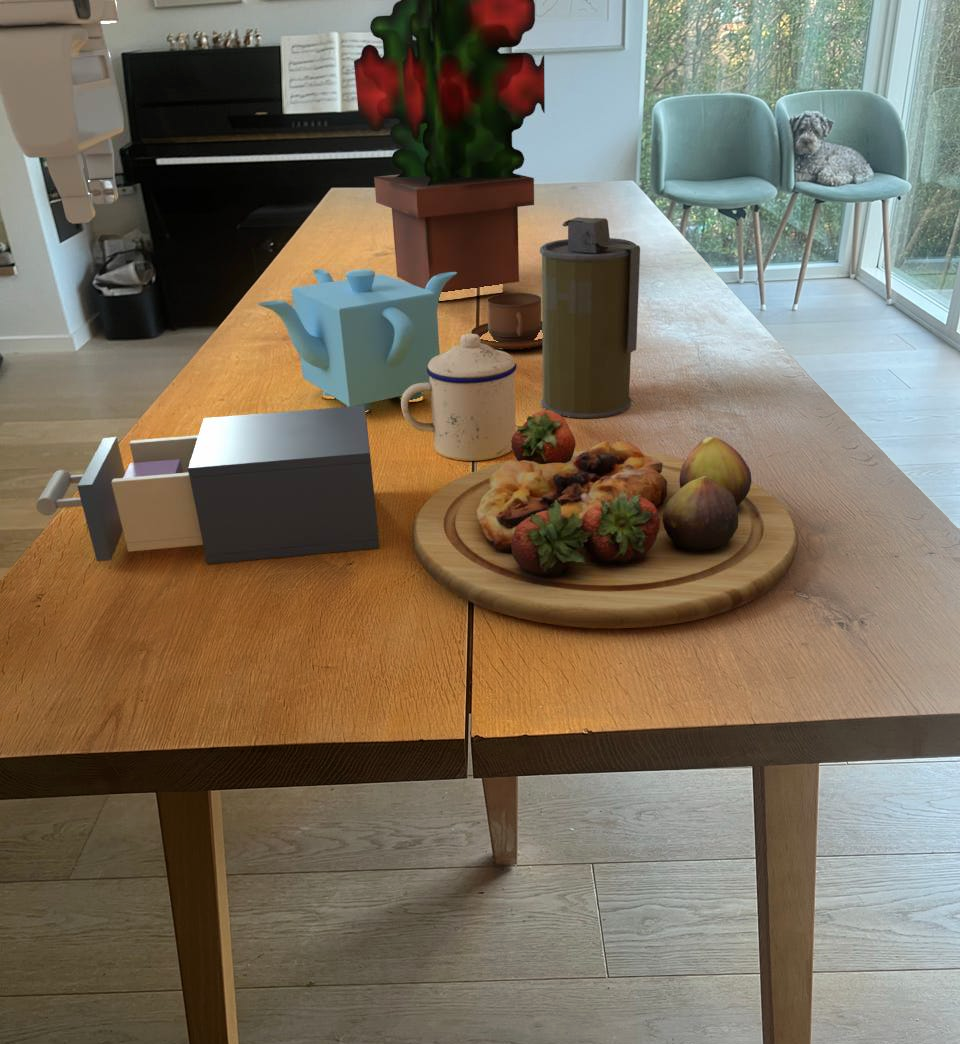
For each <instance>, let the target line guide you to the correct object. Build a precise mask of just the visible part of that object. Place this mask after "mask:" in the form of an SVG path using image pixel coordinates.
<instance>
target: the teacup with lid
mask: <svg viewBox="0 0 960 1044" xmlns="http://www.w3.org/2000/svg"><path fill="white" fill-rule="evenodd" d="M515 360H516V359H514V357H513V356H512V354H509V353H508V352H506V351H504V350H500V349H495V348H492V347H490V346H488V345H486V344H481V343H480V337H479V335H477V334H471V333H466V334H463V335H461V337H460V343H459V344H457V345H455V346H452V347H451V348H450V349H449V350H447V351H446V352H442V353H440V354H439V355H437V356H435V357H434V358H432V359H431V360H430V362H429V364H428V367H427V373H428V375H429V376H430V382H427V383H418V384H414V385H412V386H410V387H409V388H408V389H407V390H406V391H405V392H404V393H403V395H402V398H401V401H400V408H401V412H402V416H403V417H404V419H405V421H406V422H407V423H408V424H409V425H410V426H411V427H412V428H413V429H415V430H417V431H420V432H429V433H430V432H432V433H433V446H434V450H435V451H436V452H437V453H438V454H439V455H441V456H442V457H444V458H448V459H451V460H457V461H465V462H476V461H477V462H478V461H486V460H492V459H496V458H500V457H502V456H505V455H507V454H509V453H510V452H511V451H513V450H512V447H511V446H512V443H511V440H512V437H513V435H514V434H515V432H517V427H516V426H517V425H516V387H515V386H516V385H515V383H516V381H515V372H516V371H517V368H518V367H517V363H516V361H515ZM418 392H420V393H422V392H430V402H431V403H430V404H431V418H432V422H421V421H418V420H416V419H415V418H414V416H412V415H411V413H410V411H409V403H408V402H409V399H410V398H411V397H412V396H413V395H414V394H415V393H418Z"/></svg>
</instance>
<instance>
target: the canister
mask: <svg viewBox="0 0 960 1044" xmlns="http://www.w3.org/2000/svg"><path fill="white" fill-rule="evenodd" d="M562 227H565V228H566V227H567V239H558V240H554V241H550V242H546V243H545V244H542V246H540V248H539V253H540V255H541V273H542V274H541V280H542V281H541V287H542V288H541V289H542V290H541V293H542V294H541V321H542V333H543V345H542V398H541V400H540V405H541V407H542V406H543V407H544V408H545V409H546V410H552V411H553V412H555V413H556V414H559V415H562V417H564V416H569V417H577V418H576V419H588V418H589V419H599V418H600V419H601V418H606V417H610V416H615V415H618V414H622V413H623V412H625V411H627V410H628V409H629V408H631V406H632V402H633V401H632V397H631V396H630V385H631V383H630V382H631V360H632V353H633V352H635V351H636V350H637V342H638V318H639V317H638V316H639V289H640V288H639V287H640V267H641V266H640V265H641V263H640V262H641V247H640V245H638V244H636V243H635V242H633V241H630V240H627V239H622V238H614V237H613V238H612V237H610V227H609V220H608V219H607V218H605V217H594V218H592V217H578V216H577V217H574V218H571V219H568V220H566V221H564V222H563V223H562ZM543 407H542V408H543ZM544 408H543V409H544ZM545 409H544V410H545ZM569 417H568V418H569Z"/></svg>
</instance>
